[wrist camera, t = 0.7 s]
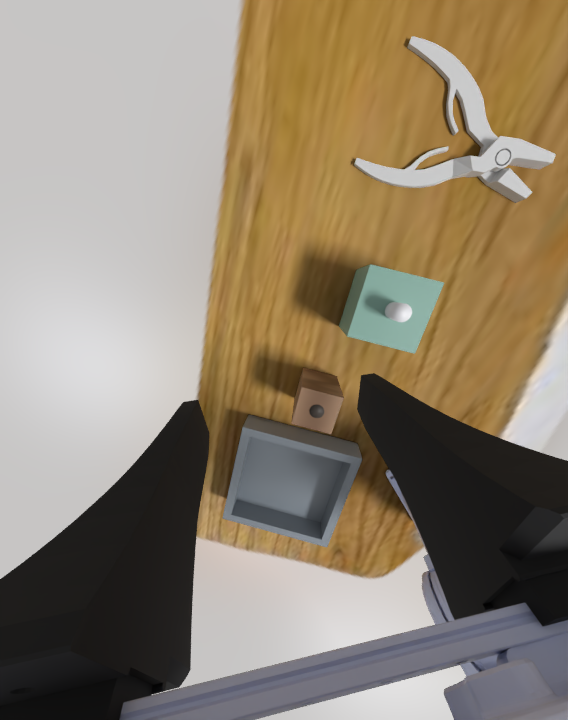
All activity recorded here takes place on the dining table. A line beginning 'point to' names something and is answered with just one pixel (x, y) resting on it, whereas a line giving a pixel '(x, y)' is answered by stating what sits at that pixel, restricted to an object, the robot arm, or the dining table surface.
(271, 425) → the tray
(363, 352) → the dining table surface
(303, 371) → the walnut block
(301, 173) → the dining table surface
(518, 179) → the pliers
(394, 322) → the green block
